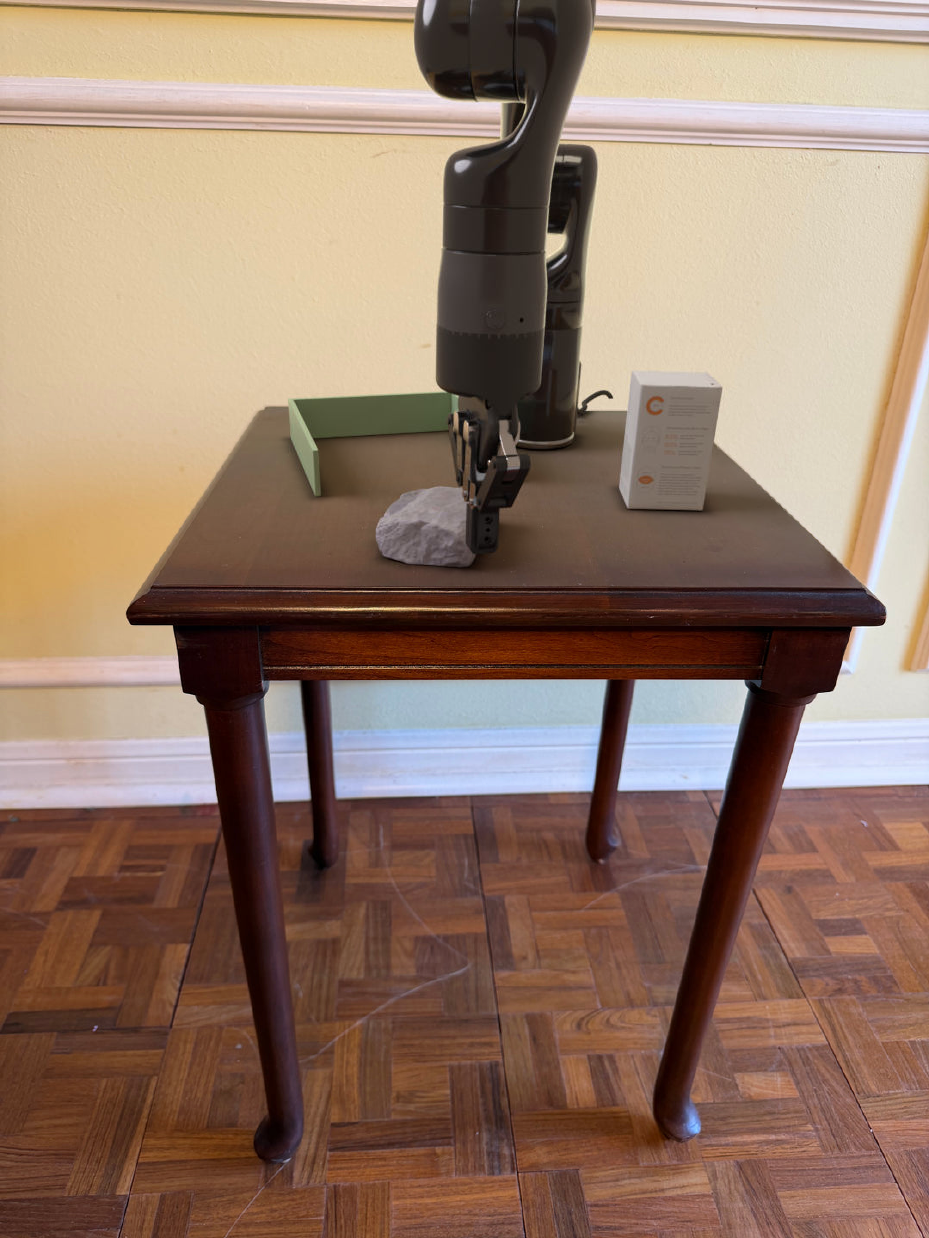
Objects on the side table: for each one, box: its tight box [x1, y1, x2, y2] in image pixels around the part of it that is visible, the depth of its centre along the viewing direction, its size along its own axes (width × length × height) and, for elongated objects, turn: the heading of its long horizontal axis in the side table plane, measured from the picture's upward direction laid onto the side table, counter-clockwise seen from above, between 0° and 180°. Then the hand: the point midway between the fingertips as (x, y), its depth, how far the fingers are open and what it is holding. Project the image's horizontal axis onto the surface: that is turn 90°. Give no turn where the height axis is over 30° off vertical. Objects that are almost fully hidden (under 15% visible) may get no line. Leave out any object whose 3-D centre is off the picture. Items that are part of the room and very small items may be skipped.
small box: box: [618, 370, 723, 511], centre depth 91 cm, size 8×6×13 cm
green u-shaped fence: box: [287, 390, 459, 497], centre depth 103 cm, size 21×21×5 cm
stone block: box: [375, 485, 477, 568], centre depth 82 cm, size 12×5×10 cm
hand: (481, 549), depth 69 cm, fingers closed
